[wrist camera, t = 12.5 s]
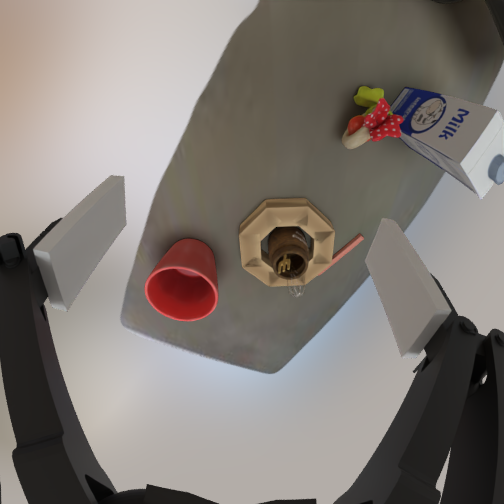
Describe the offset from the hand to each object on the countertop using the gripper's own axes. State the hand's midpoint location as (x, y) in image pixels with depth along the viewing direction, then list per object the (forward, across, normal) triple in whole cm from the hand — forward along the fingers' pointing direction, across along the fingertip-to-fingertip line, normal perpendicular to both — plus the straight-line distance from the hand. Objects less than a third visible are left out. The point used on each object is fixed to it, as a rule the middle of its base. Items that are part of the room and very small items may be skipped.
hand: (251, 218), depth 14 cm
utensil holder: (+28, +7, -17) cm, 33 cm away
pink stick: (+28, +16, -18) cm, 37 cm away
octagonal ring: (+28, +7, -17) cm, 33 cm away
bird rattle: (+28, +13, +4) cm, 31 cm away
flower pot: (+27, -7, -24) cm, 37 cm away
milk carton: (+28, +21, +6) cm, 36 cm away
